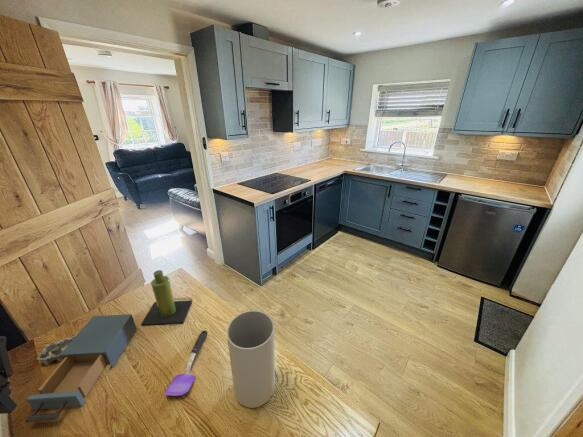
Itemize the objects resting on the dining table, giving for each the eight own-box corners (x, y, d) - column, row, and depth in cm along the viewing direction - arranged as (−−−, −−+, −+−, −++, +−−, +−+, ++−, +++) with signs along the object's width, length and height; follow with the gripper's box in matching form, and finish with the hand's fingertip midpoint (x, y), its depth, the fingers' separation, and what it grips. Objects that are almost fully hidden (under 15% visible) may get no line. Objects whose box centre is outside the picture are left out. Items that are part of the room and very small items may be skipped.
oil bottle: (157, 317, 96) (145, 277, 88) (163, 306, 102) (153, 267, 94) (172, 316, 97) (163, 277, 88) (178, 305, 102) (169, 267, 94)
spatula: (197, 331, 92) (196, 327, 91) (214, 332, 92) (213, 327, 91) (164, 399, 70) (162, 394, 69) (186, 401, 70) (185, 396, 69)
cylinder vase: (258, 359, 82) (255, 304, 72) (283, 387, 74) (283, 328, 64) (226, 385, 74) (218, 327, 64) (249, 419, 66) (244, 359, 55)
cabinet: (112, 367, 78) (105, 352, 75) (68, 370, 77) (59, 354, 74) (136, 328, 92) (131, 314, 89) (99, 330, 91) (93, 315, 88)
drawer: (71, 426, 63) (63, 413, 60) (20, 430, 62) (10, 418, 59) (113, 359, 80) (108, 347, 77) (74, 362, 79) (68, 350, 76)
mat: (141, 326, 93) (140, 324, 93) (154, 303, 104) (154, 302, 104) (183, 323, 95) (182, 322, 94) (192, 302, 106) (191, 300, 105)
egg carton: (87, 339, 88) (83, 331, 86) (78, 357, 81) (74, 349, 79) (50, 348, 84) (46, 340, 82) (38, 367, 78) (33, 359, 76)
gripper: (-81, 377, 37) (-4, 446, 48) (3, 311, 49) (49, 378, 59) (-136, 380, 37) (-46, 449, 47) (-38, 312, 48) (17, 379, 59)
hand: (7, 409), depth 53 cm, fingers closed
